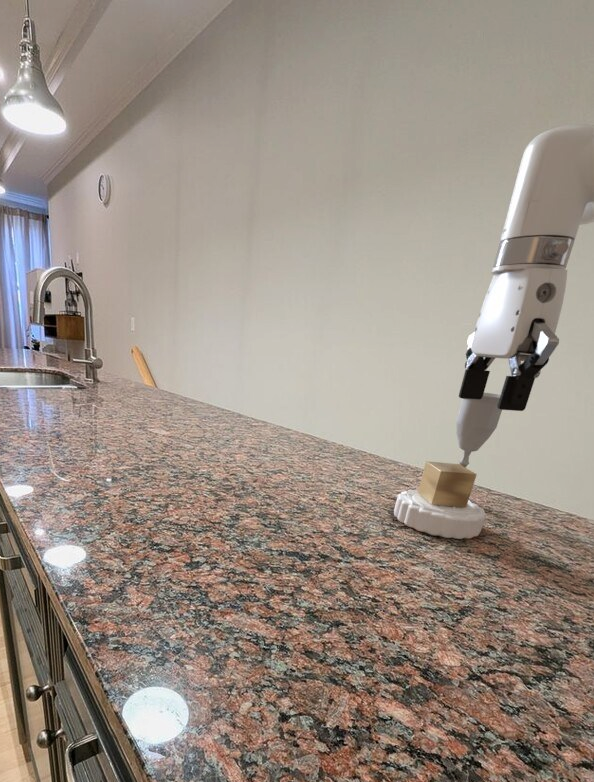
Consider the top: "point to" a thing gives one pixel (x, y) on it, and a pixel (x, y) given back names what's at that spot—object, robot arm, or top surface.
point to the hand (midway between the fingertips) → (488, 403)
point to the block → (446, 484)
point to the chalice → (476, 423)
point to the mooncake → (439, 516)
